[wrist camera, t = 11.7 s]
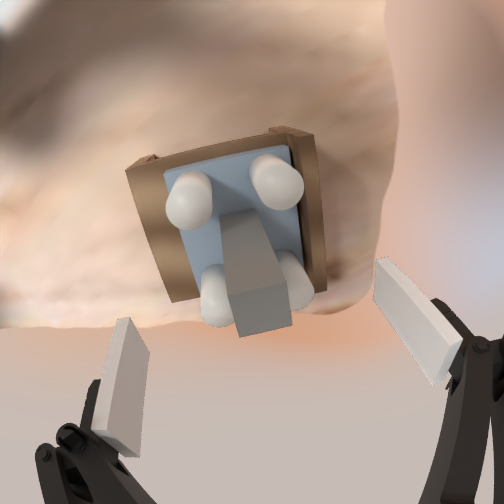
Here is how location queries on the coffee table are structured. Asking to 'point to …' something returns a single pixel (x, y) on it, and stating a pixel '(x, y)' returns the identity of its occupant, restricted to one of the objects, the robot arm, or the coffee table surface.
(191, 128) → the coffee table surface
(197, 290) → the wooden u channel
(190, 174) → the pegged blue plate
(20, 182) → the coffee table surface
